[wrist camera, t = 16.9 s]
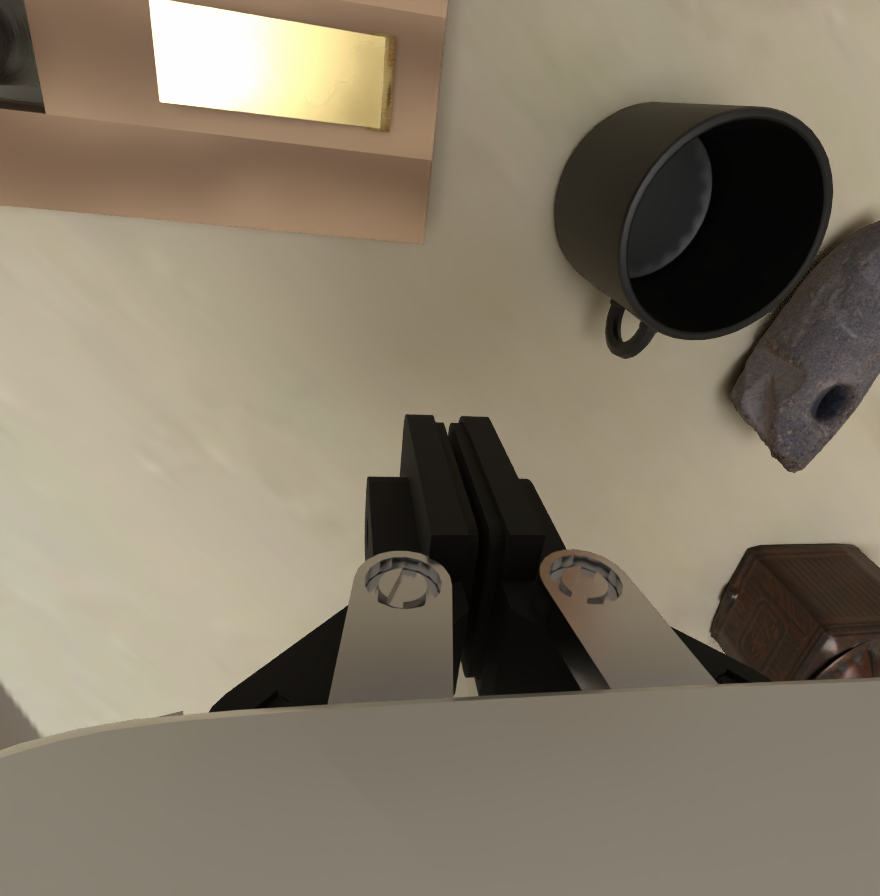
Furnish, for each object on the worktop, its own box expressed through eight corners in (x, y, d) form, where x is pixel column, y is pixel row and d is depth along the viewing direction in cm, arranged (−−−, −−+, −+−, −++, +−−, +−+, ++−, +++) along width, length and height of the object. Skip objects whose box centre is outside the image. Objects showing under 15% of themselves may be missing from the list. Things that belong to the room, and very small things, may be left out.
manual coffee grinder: (740, 544, 48) (927, 755, 33) (856, 541, 50) (1083, 740, 35) (682, 670, 56) (810, 886, 41) (784, 663, 58) (942, 868, 43)
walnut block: (412, 223, 31) (423, 244, 27) (-59, 176, 27) (-133, 192, 23) (438, -71, 25) (458, -103, 21) (-164, -188, 21) (-290, -257, 17)
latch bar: (386, 130, 24) (392, 132, 24) (162, 103, 22) (160, 104, 21) (392, 37, 23) (398, 36, 22) (151, -4, 20) (148, -7, 19)
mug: (512, 307, 34) (562, 369, 27) (593, 75, 29) (684, 71, 21) (650, 340, 37) (731, 406, 29) (748, 133, 31) (881, 147, 24)
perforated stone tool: (837, 193, 34) (941, 214, 28) (898, 226, 35) (1009, 253, 30) (691, 412, 40) (751, 467, 35) (749, 432, 42) (815, 487, 36)
